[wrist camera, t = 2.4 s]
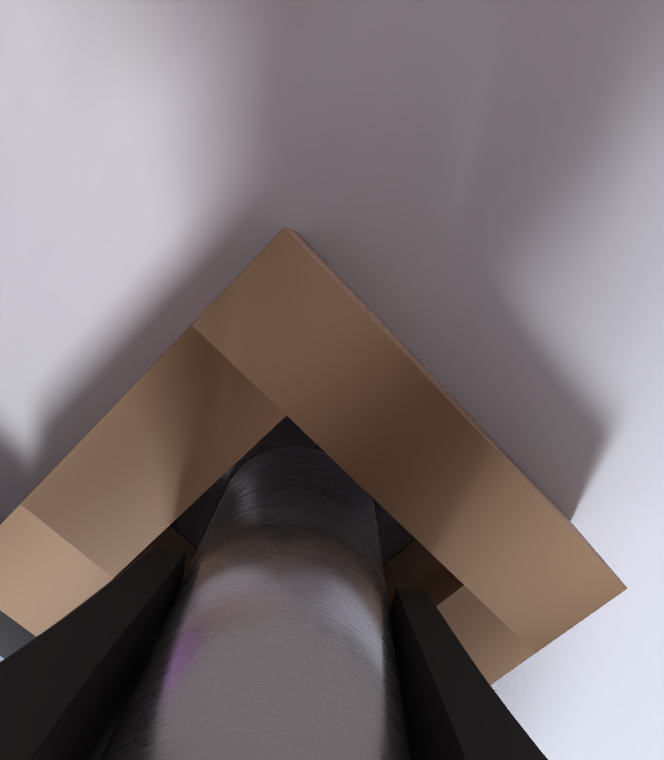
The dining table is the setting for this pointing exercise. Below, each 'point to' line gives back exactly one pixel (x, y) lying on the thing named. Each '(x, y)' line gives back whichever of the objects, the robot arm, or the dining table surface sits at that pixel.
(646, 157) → the dining table surface
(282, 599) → the pin
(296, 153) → the dining table surface
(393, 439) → the socket block
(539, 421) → the dining table surface
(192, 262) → the dining table surface
